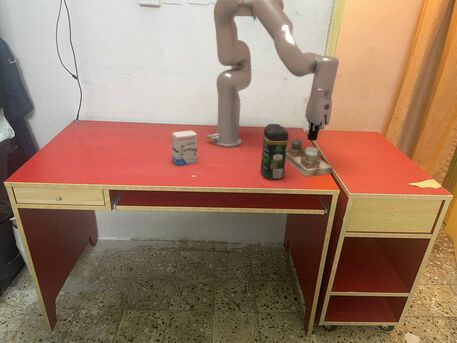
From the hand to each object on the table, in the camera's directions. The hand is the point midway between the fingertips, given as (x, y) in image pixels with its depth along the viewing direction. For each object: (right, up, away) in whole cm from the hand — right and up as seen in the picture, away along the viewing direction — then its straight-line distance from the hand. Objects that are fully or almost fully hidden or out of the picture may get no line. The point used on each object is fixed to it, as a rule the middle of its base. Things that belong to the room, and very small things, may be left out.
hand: (311, 139), depth 131 cm
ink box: (-49, -9, +1) cm, 50 cm away
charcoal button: (-5, -4, +6) cm, 9 cm away
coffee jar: (-16, -14, -5) cm, 22 cm away
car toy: (-2, 0, +26) cm, 26 cm away
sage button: (-2, -9, -3) cm, 10 cm away
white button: (0, -7, +3) cm, 8 cm away
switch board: (-2, -10, +4) cm, 10 cm away
